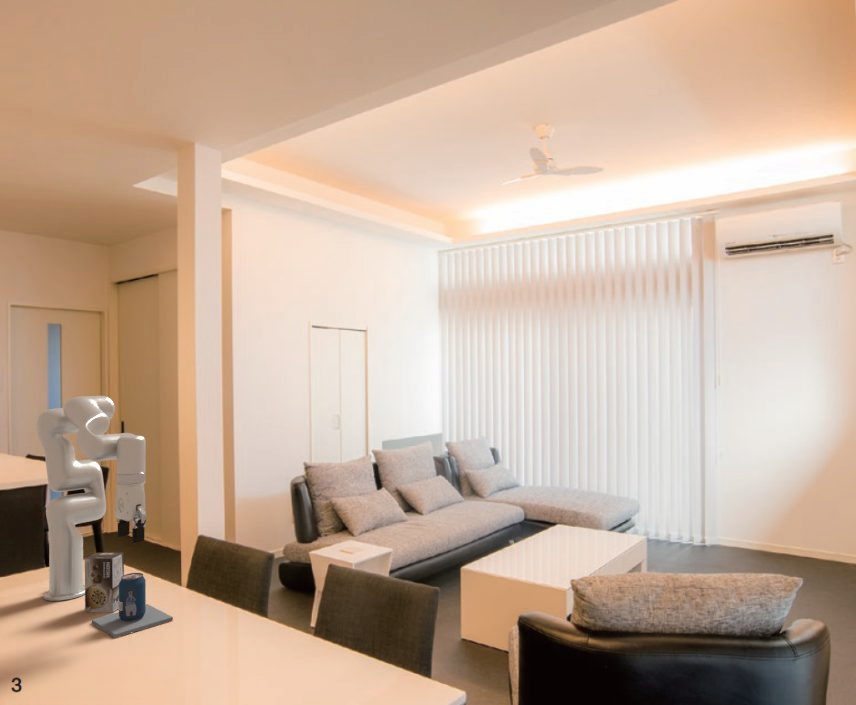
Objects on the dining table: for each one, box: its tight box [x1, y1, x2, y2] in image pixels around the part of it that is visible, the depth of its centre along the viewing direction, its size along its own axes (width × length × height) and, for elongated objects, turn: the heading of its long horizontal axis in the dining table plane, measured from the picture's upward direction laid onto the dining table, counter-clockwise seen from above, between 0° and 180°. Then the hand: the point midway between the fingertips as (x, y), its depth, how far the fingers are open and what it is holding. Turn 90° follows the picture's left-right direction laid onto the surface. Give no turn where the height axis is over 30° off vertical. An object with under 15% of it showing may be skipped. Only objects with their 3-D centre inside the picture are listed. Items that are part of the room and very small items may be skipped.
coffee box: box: [84, 552, 125, 613], centre depth 194 cm, size 9×6×16 cm
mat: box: [91, 603, 174, 638], centre depth 183 cm, size 16×16×1 cm
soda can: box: [118, 572, 147, 622], centre depth 183 cm, size 7×7×12 cm
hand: (130, 538), depth 184 cm, fingers open, 9 cm apart
